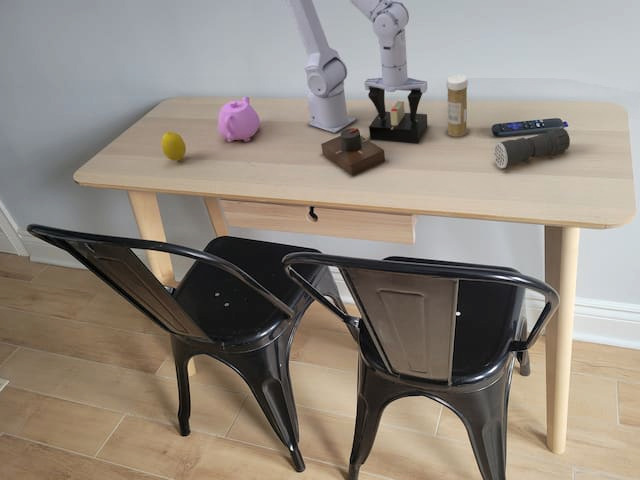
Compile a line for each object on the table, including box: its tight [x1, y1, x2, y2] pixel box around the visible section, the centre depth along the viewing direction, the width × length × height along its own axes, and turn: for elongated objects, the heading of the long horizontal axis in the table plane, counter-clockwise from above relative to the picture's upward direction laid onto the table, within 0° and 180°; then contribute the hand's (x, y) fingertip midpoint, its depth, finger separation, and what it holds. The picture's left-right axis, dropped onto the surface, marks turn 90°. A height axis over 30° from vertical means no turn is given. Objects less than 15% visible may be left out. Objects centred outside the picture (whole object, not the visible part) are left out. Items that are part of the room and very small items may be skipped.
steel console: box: [368, 109, 429, 145], centre depth 138 cm, size 12×10×4 cm
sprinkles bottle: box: [446, 74, 469, 138], centre depth 132 cm, size 5×5×14 cm
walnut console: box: [320, 134, 386, 177], centre depth 132 cm, size 13×9×3 cm
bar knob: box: [389, 100, 406, 126], centre depth 136 cm, size 6×2×4 cm, turn 156°
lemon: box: [160, 131, 187, 162], centre depth 141 cm, size 6×6×8 cm
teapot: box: [217, 96, 261, 143], centre depth 147 cm, size 10×15×9 cm
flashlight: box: [493, 127, 571, 169], centre depth 122 cm, size 15×5×5 cm, turn 105°
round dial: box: [339, 127, 361, 151], centre depth 130 cm, size 4×4×4 cm
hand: (397, 118), depth 137 cm, fingers open, 7 cm apart
